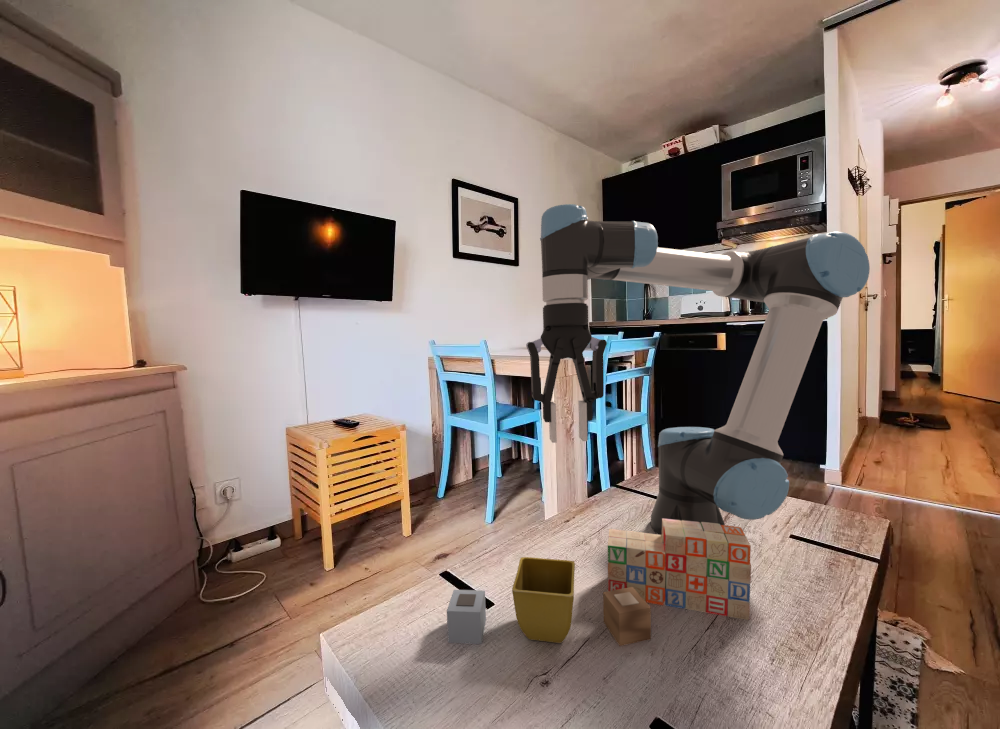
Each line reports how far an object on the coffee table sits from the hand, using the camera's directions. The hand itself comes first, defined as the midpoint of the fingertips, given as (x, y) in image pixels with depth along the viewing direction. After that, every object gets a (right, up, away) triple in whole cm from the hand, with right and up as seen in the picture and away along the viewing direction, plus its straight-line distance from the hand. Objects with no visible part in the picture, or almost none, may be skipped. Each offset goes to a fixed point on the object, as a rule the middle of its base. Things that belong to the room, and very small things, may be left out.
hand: (568, 439), depth 70 cm
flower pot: (-5, -28, -8) cm, 29 cm away
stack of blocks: (+18, -27, -1) cm, 32 cm away
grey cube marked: (-17, -28, -8) cm, 34 cm away
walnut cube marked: (+7, -27, -9) cm, 30 cm away
